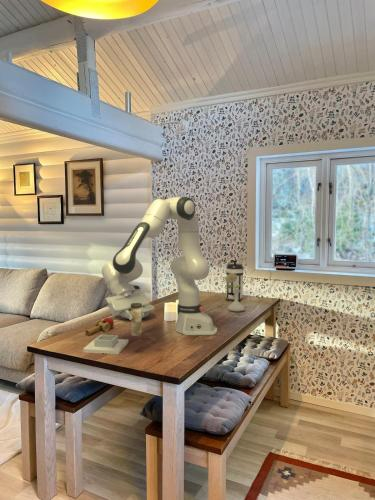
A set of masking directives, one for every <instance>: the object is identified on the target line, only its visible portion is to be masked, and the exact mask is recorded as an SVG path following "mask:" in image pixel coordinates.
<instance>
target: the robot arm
mask: <svg viewBox="0 0 375 500" xmlns="http://www.w3.org/2000/svg"><path fill="white" fill-rule="evenodd" d="M149 205H150V206H148V208H147V210H146V211H145V213H144V215H143V217H142V219H141V220H140V222H139V223H138V224H137V225H136V227H134V230H133V231H132V232H131V234H130V235H129V237H128V239H127V240H126V242H125V243H124V245H123V246H122V247H121V248H120V250H118V251H117V252H116V253H115V254H114V256H113V259H112V260H110V261H108V262H106V263H105V264H104V265H103V266H102V268H101V276H102V277H103V279H104V281H105V284H106V285H107V287H109V289H110V293H111V295H110V294H109V295H107V296H106V297H105V302H106V304H107V307H108V309H109V312H110V314H112V315H113V316H116V315H119V314H121V313H123V314H124V315H125V316H127V317H128V318H129V319H128V320H129V321H131V320H133V319H134V316H133V314H132V315H131V314H130V313H129V312H130V311H131V304H132V303H141V304H142V307H141V314H142V317H143V316H144V313H143V308H146V307H147V306H148V305H149V304H150V303H151V301H150V299H149V297H148V295H147V294H146V292H144V291H143V289H142V287H141V286H140V285H137V284H132V283H131V282H133V281H135V280H137V279H139V278H140V277H141V275H142V274H143V271H144V267H143V265H142V263H141V262H140V260H138V259H137V253H138V251H139V249H140V247H142V244H143V243H144V241H145V240H146V239H147V238H149V239H153V238H157V237H159V236H160V234H161V233H162V232H163V230H164V228H165V226H166V224H167V222H168V219H170V220H176V221H177V224H178V225H177V236H178V237H177V240H178V241H177V244H178V245H177V246H178V247H179V249H180V251H181V252H182V255H183V256H178V257H175V258H173V259H172V260H171V263H170V265H169V267H170V271H171V273H172V274H173V275H174V278H175V281H176V284H177V290H178V303H177V309H176V310H177V311H176V312H177V320H176V326H175V330H174V331H175V332H177V333H179V334H182V335H184V336H215V335H216V334H217V333H218V327H216V326H215V325H214V322H213V319H212V317H211V316H209V315H208V314H207V313H206V312H204V306H203V304H200V288H199V287H198V286H197V283H196V281H199V280H204V279H205V280H206V278H207V277H208V276H209V274H210V266H209V265H210V264H209V263H208V262H207V261H206V260H205V258H204V256H203V253H202V251H201V246H200V245H201V243H200V226H199V225H200V223H199V219H198V215H197V213H196V203H195V202H194V199H192V198H191V197H188V196H173V197H166V198H164V199H163V198H161V199H160V198H157V199H154V201H152V203H151V204H149ZM150 305H151V304H150Z"/></svg>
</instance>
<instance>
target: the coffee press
mask: <svg viewBox="0 0 375 500" xmlns="http://www.w3.org/2000/svg"><path fill="white" fill-rule="evenodd" d="M225 269H226V274H225V275H226V276H227V275H228V274H230V273H231V274H232V273H234V275H235V274H236V275H237V279H236V280H235V282H233V284H232V283H229V282H226V285H225V286H226V287H225V288H226V292H225V294H226V295H225V296H226V298H225V301H226V302H229V300H233V301H234V300H235V295H234V291H233V290H235V289H237V290H240V292H239V294H238V301H239V303H241V302H242V300H243V299H244V298H243V289H244V288H243V285H244V284H243V283H244V269H245V267H244V265H243V264H242V263H237V260H236V259H234V260H233V263H229V264H227V266H225ZM229 285H232V286H234V287H236V286H238V285H240V287H239V288H234V287H232V288H227V286H229Z"/></svg>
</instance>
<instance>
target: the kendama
mask: <svg viewBox="0 0 375 500" xmlns="http://www.w3.org/2000/svg"><path fill="white" fill-rule="evenodd" d="M113 327H114V320H113V318H111V317H106V318H104V319H103V320H101V319H97V321H96V322H95V326H94V327H91V328H88V329H85V335H86V336H88V337H89V336H91V335H92V334H93V333H95V332H98V331H99V330H100V329H102V331H103V332H105V333H106V332H108V331H109V330H110V329H111V328H113Z"/></svg>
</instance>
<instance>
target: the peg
mask: <svg viewBox="0 0 375 500" xmlns="http://www.w3.org/2000/svg"><path fill="white" fill-rule="evenodd" d="M141 307H142V304H141V303H132V304H131V315H132V314H133V316H134V319H133V320H130V321H131V336H136V337H137V336H141V335H142V334H143V331H142V330H143V329H142V327H143V326H142V322H143V321H142V319H143V318H142V314H141Z"/></svg>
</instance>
